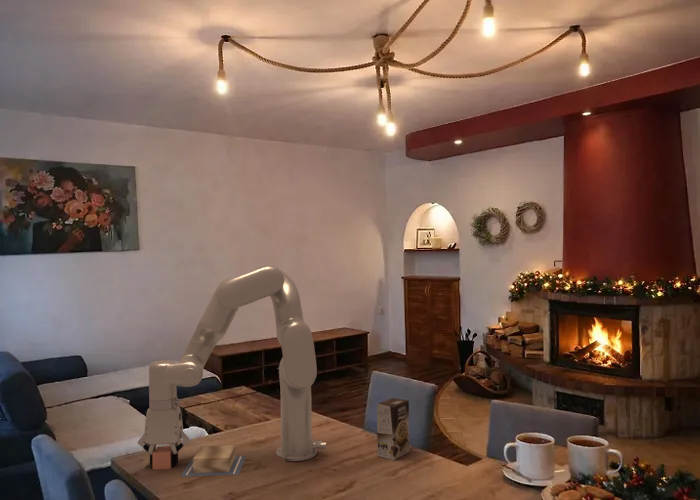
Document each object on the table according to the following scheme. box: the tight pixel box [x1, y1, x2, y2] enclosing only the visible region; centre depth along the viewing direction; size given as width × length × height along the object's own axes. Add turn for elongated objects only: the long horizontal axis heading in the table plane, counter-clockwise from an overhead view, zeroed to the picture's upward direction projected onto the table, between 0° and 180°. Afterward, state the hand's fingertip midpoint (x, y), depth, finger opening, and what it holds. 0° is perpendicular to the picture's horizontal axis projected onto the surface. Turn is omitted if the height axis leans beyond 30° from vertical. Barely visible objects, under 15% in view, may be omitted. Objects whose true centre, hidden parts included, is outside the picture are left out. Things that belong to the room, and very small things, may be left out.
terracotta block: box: [152, 445, 172, 470], centre depth 158 cm, size 5×5×6 cm
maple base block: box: [192, 444, 236, 473], centre depth 158 cm, size 10×10×4 cm
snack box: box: [376, 397, 410, 461], centre depth 168 cm, size 9×6×16 cm
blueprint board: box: [180, 455, 247, 477], centre depth 158 cm, size 16×14×1 cm
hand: (164, 466), depth 158 cm, fingers closed on terracotta block, 4 cm apart
